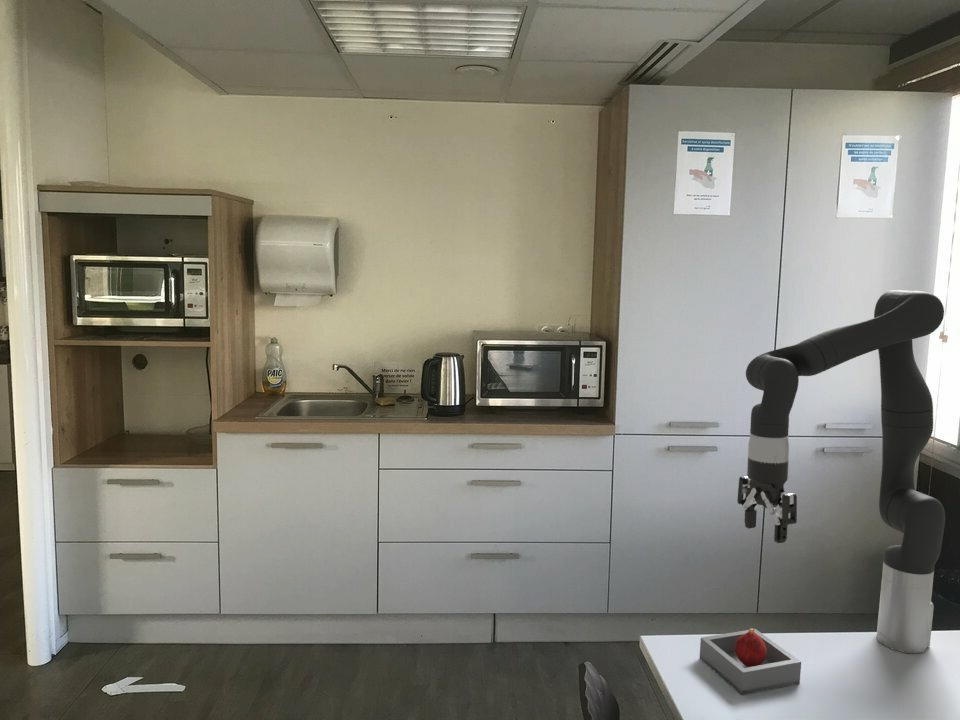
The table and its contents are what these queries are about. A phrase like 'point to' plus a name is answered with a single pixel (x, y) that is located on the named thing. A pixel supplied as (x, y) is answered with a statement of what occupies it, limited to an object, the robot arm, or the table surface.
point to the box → (746, 680)
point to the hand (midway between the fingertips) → (764, 534)
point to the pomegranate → (750, 649)
